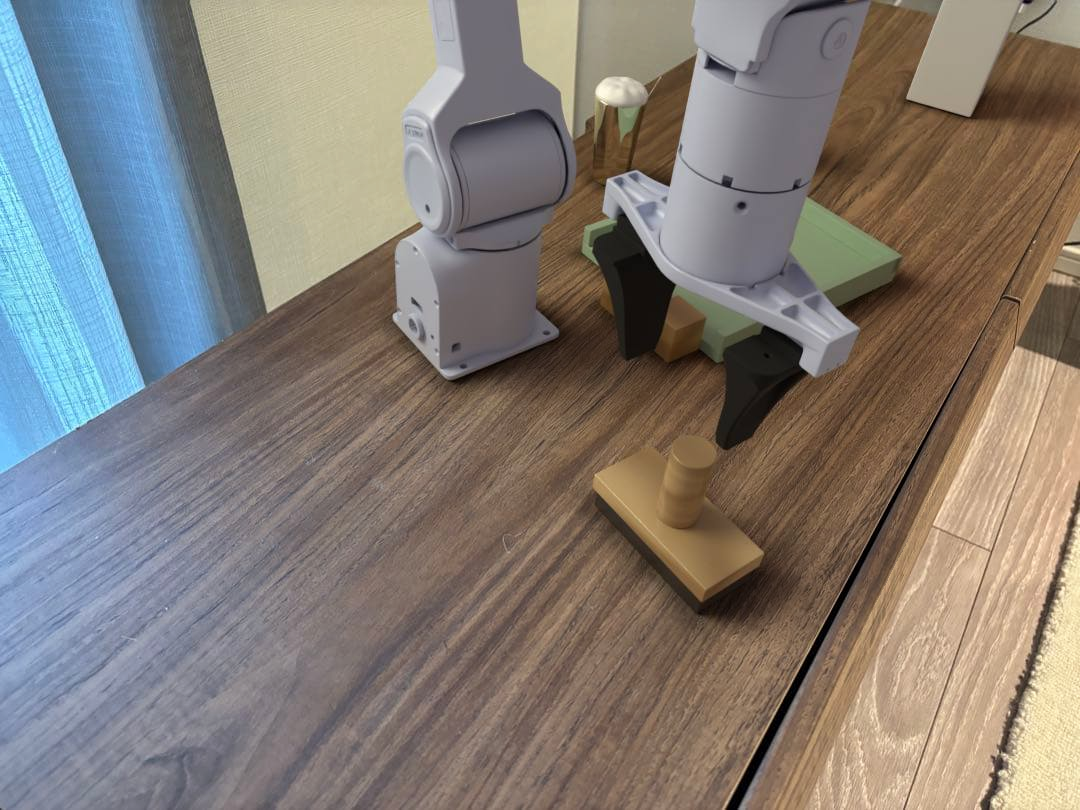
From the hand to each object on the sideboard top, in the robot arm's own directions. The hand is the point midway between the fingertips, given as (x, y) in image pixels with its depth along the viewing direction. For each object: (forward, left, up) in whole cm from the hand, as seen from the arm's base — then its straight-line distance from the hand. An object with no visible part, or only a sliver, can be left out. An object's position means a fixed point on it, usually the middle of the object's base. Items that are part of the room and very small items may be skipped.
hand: (683, 393), depth 46 cm
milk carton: (+68, +28, -10) cm, 74 cm away
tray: (+23, +16, -9) cm, 29 cm away
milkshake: (+23, +32, -10) cm, 40 cm away
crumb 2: (+11, +11, -9) cm, 18 cm away
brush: (-1, -2, -9) cm, 10 cm away
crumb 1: (+11, +16, -9) cm, 22 cm away
